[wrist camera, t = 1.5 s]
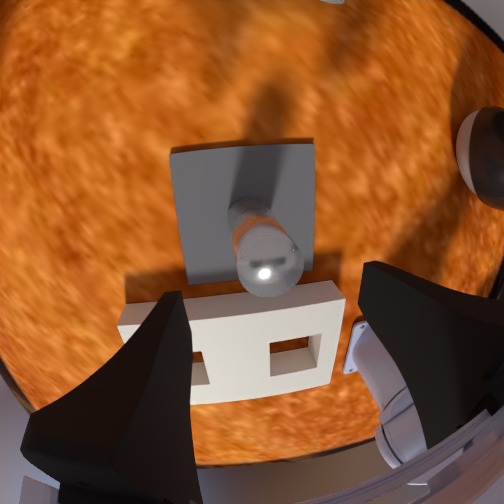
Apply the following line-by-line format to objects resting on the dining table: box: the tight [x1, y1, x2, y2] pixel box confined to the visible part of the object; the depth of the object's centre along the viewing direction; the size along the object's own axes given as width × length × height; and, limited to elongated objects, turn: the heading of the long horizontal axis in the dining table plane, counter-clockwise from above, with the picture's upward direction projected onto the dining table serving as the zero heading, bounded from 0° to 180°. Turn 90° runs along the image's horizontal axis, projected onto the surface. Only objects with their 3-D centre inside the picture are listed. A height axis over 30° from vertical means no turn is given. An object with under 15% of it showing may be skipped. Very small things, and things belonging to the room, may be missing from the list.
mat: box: [169, 144, 315, 285], centre depth 19 cm, size 10×10×1 cm
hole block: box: [117, 280, 346, 405], centre depth 23 cm, size 18×11×3 cm, turn 93°
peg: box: [227, 196, 304, 297], centre depth 16 cm, size 3×3×8 cm
